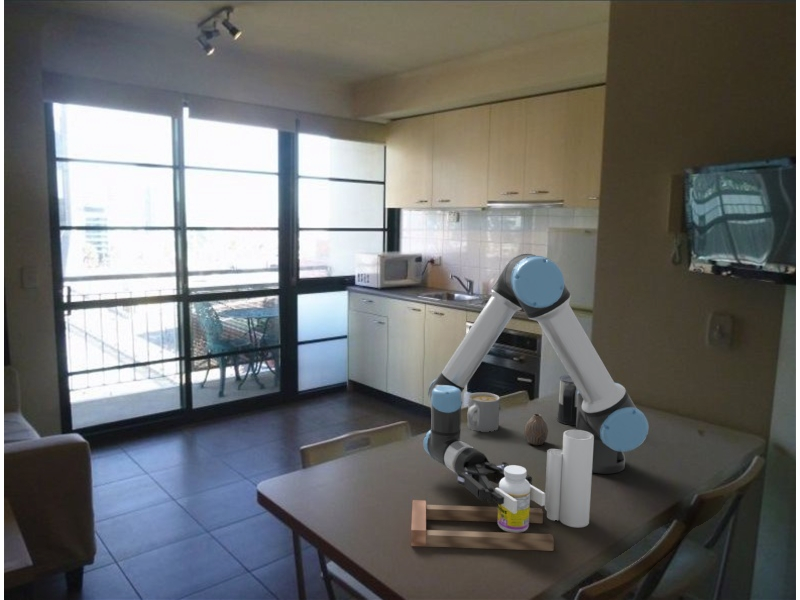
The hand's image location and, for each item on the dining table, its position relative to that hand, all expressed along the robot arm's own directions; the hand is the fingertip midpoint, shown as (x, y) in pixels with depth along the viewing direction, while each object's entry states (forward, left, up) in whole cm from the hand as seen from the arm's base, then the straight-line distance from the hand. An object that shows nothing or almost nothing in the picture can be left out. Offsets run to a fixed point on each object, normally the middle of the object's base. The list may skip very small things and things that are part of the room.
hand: (529, 503), depth 121 cm
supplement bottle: (+3, -4, -8) cm, 9 cm away
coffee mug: (+4, -69, -9) cm, 70 cm away
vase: (-12, -57, -9) cm, 59 cm away
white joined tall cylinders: (-10, -12, -9) cm, 19 cm away
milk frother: (-31, -75, -9) cm, 82 cm away
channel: (+9, -4, -9) cm, 13 cm away
